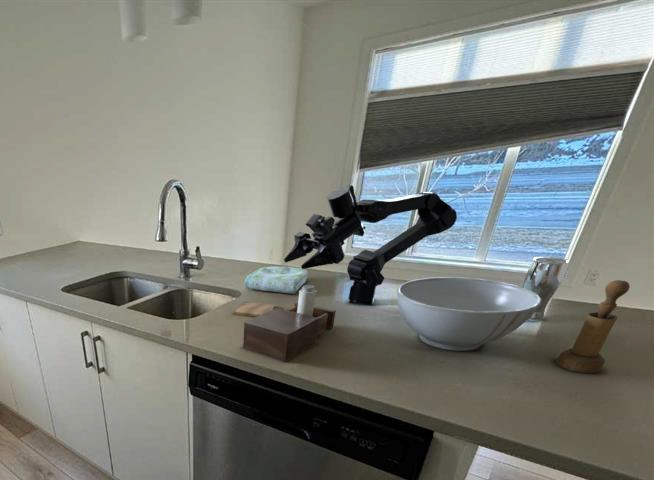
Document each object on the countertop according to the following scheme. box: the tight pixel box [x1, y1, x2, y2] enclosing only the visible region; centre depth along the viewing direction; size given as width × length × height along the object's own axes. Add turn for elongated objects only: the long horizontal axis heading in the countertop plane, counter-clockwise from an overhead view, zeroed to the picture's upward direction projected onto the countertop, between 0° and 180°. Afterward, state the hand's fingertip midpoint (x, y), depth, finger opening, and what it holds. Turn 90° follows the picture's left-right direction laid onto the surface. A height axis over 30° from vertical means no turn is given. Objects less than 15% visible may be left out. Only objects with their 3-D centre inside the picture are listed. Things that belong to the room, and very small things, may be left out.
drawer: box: [286, 302, 336, 336], centre depth 108 cm, size 14×11×5 cm
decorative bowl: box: [396, 276, 542, 352], centre depth 96 cm, size 27×27×12 cm
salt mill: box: [297, 284, 317, 317], centre depth 106 cm, size 4×4×11 cm
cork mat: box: [233, 301, 276, 317], centre depth 128 cm, size 10×10×1 cm
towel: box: [244, 265, 309, 295], centre depth 148 cm, size 18×21×5 cm
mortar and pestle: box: [556, 279, 631, 374], centre depth 80 cm, size 7×6×18 cm
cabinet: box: [242, 307, 319, 362], centre depth 103 cm, size 14×13×7 cm
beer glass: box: [522, 256, 570, 322], centre depth 103 cm, size 7×7×15 cm
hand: (293, 264), depth 116 cm, fingers open, 9 cm apart
